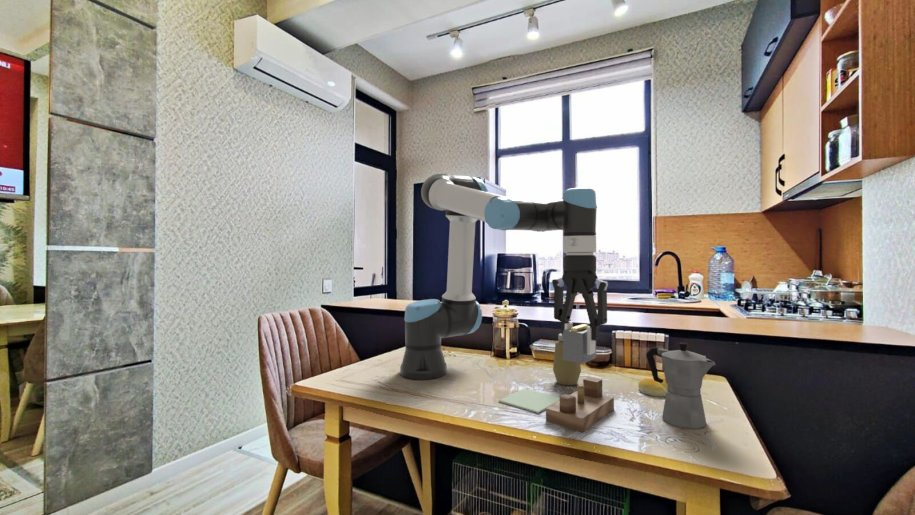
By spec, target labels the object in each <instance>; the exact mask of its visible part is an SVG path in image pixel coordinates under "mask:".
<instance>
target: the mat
mask: <svg viewBox="0 0 915 515" xmlns="http://www.w3.org/2000/svg"><path fill="white" fill-rule="evenodd" d="M558 401H560V396H557V395H551V394H548V393H545V392H541V391H536V390H533V389H528V388H525V387H524V388H522V389H519V390H518V391H516V392H513V393H511V394H508V395H506V396H504V397H502V398H500V399H498V402H499V403H502V404H505V405H508V406H511V407H515V408H517V409H521V410H524V409H526V410H525V411H528V410H529V411H528V412H531V411H532V413H534V412H536V413H535V414H538V413H539V414H541V413H543V412H544V410H545V411H546V408H547V407H549V406H551V405H552V404H554V403H556V402H558ZM542 411H543V412H542ZM540 412H541V413H540Z"/></svg>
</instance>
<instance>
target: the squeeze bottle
mask: <svg viewBox="0 0 915 515" xmlns="http://www.w3.org/2000/svg"><path fill="white" fill-rule="evenodd" d="M557 336H558V340H557V341H556V342H555V344H554V354H553V355H554V356H553V365H552V366H553V367H552V371H553V374H554V377H555V378H554V379H555V381H556V382H557V384H559V385H563V386H574V385H578V382H579V379H580V375H581V373H582V367H581V363H576V362H571V361H566V360H563V336H562V332H561V333H559V334H558V335H557Z"/></svg>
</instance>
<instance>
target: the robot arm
mask: <svg viewBox="0 0 915 515" xmlns="http://www.w3.org/2000/svg"><path fill="white" fill-rule="evenodd" d="M421 186H422V187H421V189H420V190H421V191H420V194H421V195H420V196H421V199H422V200H423V203H425V205H426V206H428V207H429V208H430V209H434V210H437V211H445V218H447V219H448V220H449V235H448V254H447V259H448V260H447V275H446V276H447V278H446V280H447V281H446V291H445V293H443V294H442V295H441V301H440V299H436V298H429V299H422V300H416V301H413V302H410V303H409V304H407V305H406V307H405V309H404V319H403V320H404V336H405V337H404V338H405V339H404V340H405V341H404V342H405V345H404V346H405V349H404V353H403V354H404V355H403V358H402V360H401V361H402V362H401V365H400V369H399V370H400V376H401V377H403V378H406V379H410V380H421V381H422V380H431V379H438V378H442V377H443V376H444V375H446V374H447V373H448V367H447V366H448V364H447V362H446V361H445V356H444V353H443V350H442V339H445V338H453V337H456V336H457V337H458V336H459V337H460V336H466V335H468V334H470V335H471V334H473V333H474V332H476V330H478V329H479V327H480V326H481V324H482V320H483V311H482V309H481V305H480V303H479V302H478V301H477V300H476V296H475V294H474V293H473V292H472V291H473V276H474V274H473V272H474V270H473V269H474V256H475V255H474V252H475V236H476V222H477V221H481V222H484V223H486V224H487V225H488V227H489V228H490V229H492V230H497V231H498V230H499V231H532V232H549V231H550V232H551V231H562V235H563V239H562V240H563V241H562V242H563V246H562V247H563V249H562V250H563V253H565V254H564V256H562V257H563V261H562V263H563V264H562V266H563V267H562V268H563V274H562V277H560V278H554V279H552V281H551V283H552V286H553V294H554V295H553V318H554V320H558V321H559V322H560V323H561V333H562V336H563V330H566V329H570V328H572V327H574V323H573V322H572V319H571V317H572V316H571V315H572V311H573V308H574V305H575V301H576V297H577V295H578V294H581V296H582V298H583V301H584V305H585V309H586V313H587V316H588V320H589V324H588V326H587V355H591V354H594V353H595V341H596V342H597V340H599V338H600V335H599V334H600V333H599V332H600V326H603V325H605V324H608V301H607V300H608V289H609V286H610V282H609V281H608V280H607V281H606V280H605V281H604V280H602V279H599V278H598V275H597V256H596V255H594V253H596V252H597V232H596V231H597V230H596V227H597V208H598V205H597V197H596V191H595V190H594V189H592V188H591V187H590V188H589V187H574V188H573V187H572V188H568V189H565V190H564V191H563V193H562V199H557V200H535V199H533V200H532V199H523V198H522V199H520V198H513V197H510V196H509V197H508V196H505V195H501V194H496V193H492V192H489V191H488V188H487V184H485V183H484V180H482V179H480V178H478V177H474V176H471V175H470V176H469V175H458V174H448V173H435V174H433V175H430V176H429V177H428V178H427V179H425V180H424V182H423V184H422V185H421ZM564 286H566V292H565V296H566V297H565V300H564ZM595 286H596V289H597V292H596V294H597V297H596V298H597V302H596V303H597V306H596V303H595V299H594V295H595V293H594V290H593V288H594V287H595ZM596 307H597V308H596Z"/></svg>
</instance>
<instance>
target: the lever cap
mask: <svg viewBox="0 0 915 515" xmlns="http://www.w3.org/2000/svg"><path fill="white" fill-rule="evenodd" d="M587 326H589V324H584V323H582V324H579V325H575V326H573V327H572V328H570V329H566V330H563V360H566V361H571V362H576V363H580V365H583V364H586V363H588V362H591V361H592V360H594V359H597V340H596V341H595V353H594V354H591V355H587Z"/></svg>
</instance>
